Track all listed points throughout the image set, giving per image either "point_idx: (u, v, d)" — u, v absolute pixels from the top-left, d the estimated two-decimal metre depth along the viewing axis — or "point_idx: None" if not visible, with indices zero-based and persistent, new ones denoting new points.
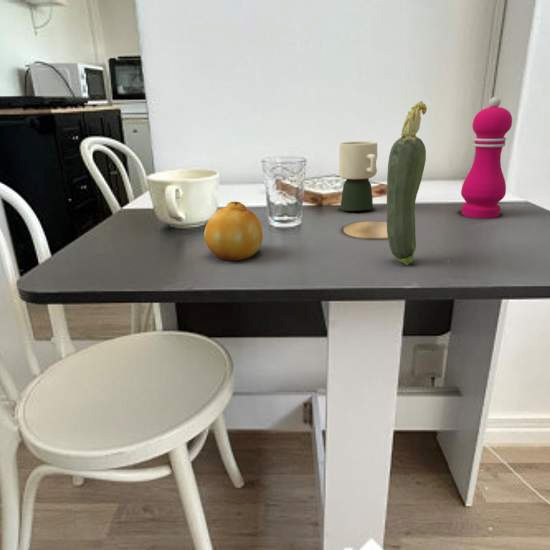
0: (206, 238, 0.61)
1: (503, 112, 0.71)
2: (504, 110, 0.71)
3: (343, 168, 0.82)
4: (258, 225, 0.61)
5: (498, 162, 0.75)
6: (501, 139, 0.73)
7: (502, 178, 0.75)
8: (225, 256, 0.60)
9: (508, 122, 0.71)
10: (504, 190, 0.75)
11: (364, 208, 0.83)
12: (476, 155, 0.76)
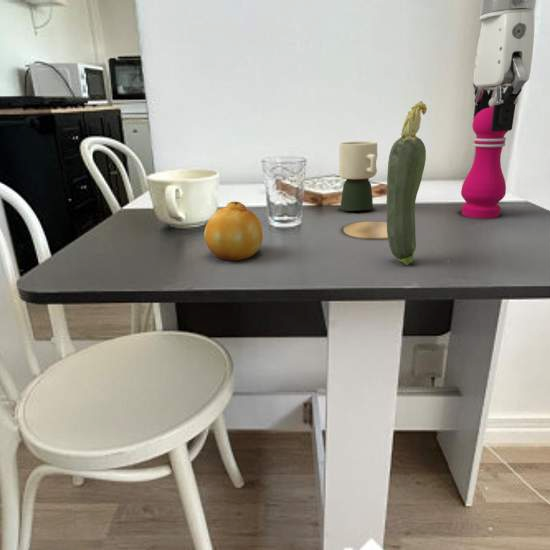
0: (206, 238, 0.61)
1: None
2: None
3: (343, 168, 0.82)
4: (258, 225, 0.61)
5: (498, 162, 0.75)
6: (501, 139, 0.73)
7: (502, 178, 0.75)
8: (225, 256, 0.60)
9: None
10: (504, 190, 0.75)
11: (364, 208, 0.83)
12: (476, 155, 0.76)
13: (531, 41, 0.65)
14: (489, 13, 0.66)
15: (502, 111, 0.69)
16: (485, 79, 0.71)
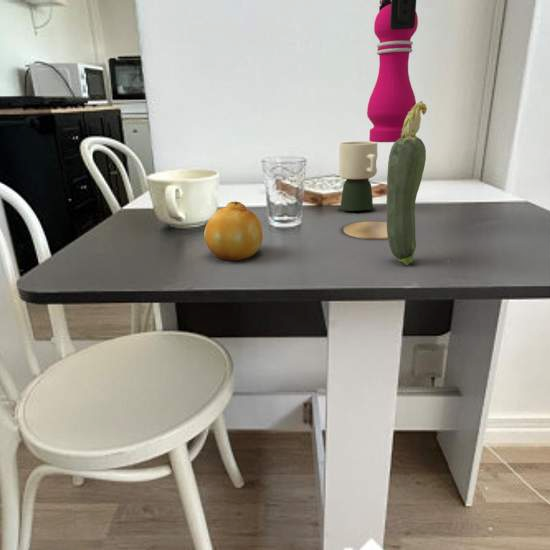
0: (206, 238, 0.61)
1: None
2: None
3: (343, 168, 0.82)
4: (258, 225, 0.61)
5: (404, 72, 0.63)
6: (405, 41, 0.61)
7: (410, 91, 0.63)
8: (225, 256, 0.60)
9: None
10: None
11: (364, 208, 0.83)
12: (380, 65, 0.64)
13: None
14: None
15: (400, 2, 0.57)
16: None
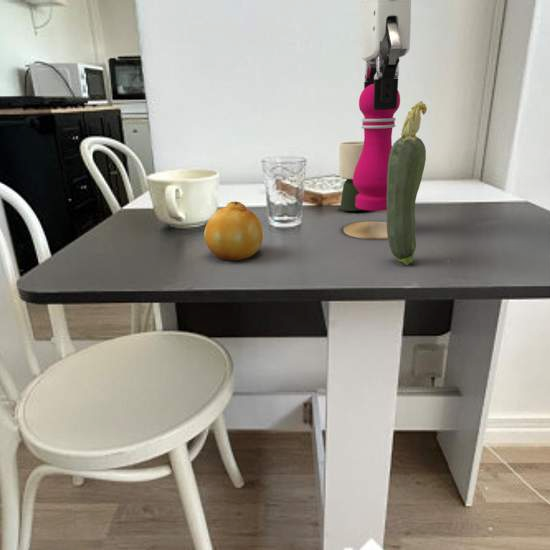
0: (206, 238, 0.61)
1: None
2: None
3: (343, 168, 0.82)
4: (258, 225, 0.61)
5: (388, 146, 0.66)
6: (387, 119, 0.64)
7: None
8: (225, 256, 0.60)
9: None
10: None
11: None
12: (364, 138, 0.67)
13: (407, 4, 0.56)
14: None
15: (382, 86, 0.60)
16: (366, 51, 0.62)
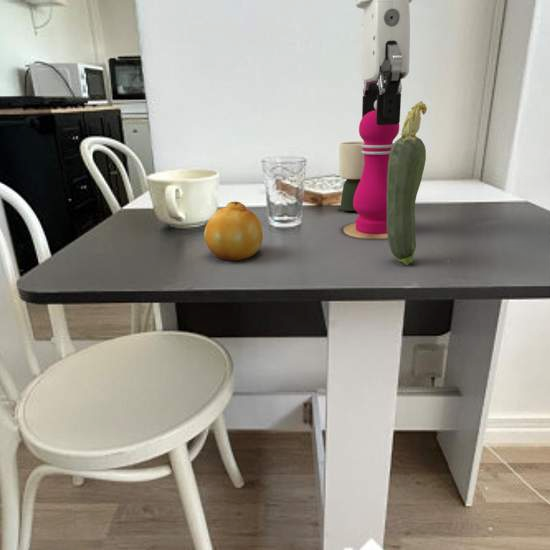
0: (206, 238, 0.61)
1: None
2: None
3: (343, 168, 0.82)
4: (258, 225, 0.61)
5: (387, 171, 0.67)
6: (387, 146, 0.65)
7: None
8: (225, 256, 0.60)
9: (392, 126, 0.64)
10: None
11: None
12: (364, 163, 0.68)
13: (406, 29, 0.57)
14: None
15: (385, 102, 0.60)
16: (366, 73, 0.64)
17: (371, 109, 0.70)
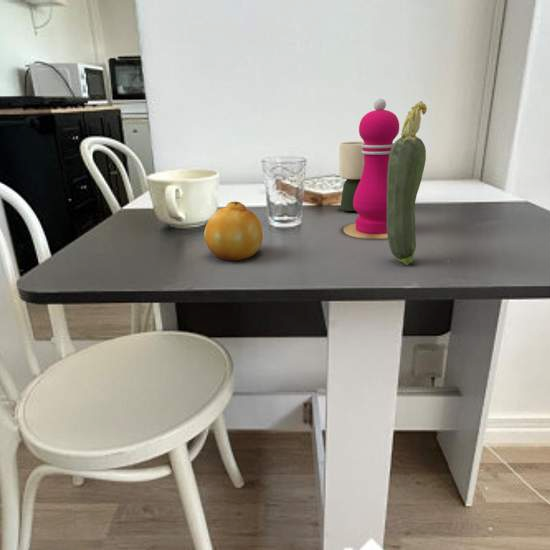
0: (206, 238, 0.61)
1: (386, 116, 0.64)
2: (388, 113, 0.64)
3: (343, 168, 0.82)
4: (258, 225, 0.61)
5: (387, 171, 0.67)
6: (387, 146, 0.65)
7: None
8: (225, 256, 0.60)
9: (392, 126, 0.64)
10: None
11: None
12: (364, 163, 0.68)
13: None
14: None
15: None
16: None
17: None
